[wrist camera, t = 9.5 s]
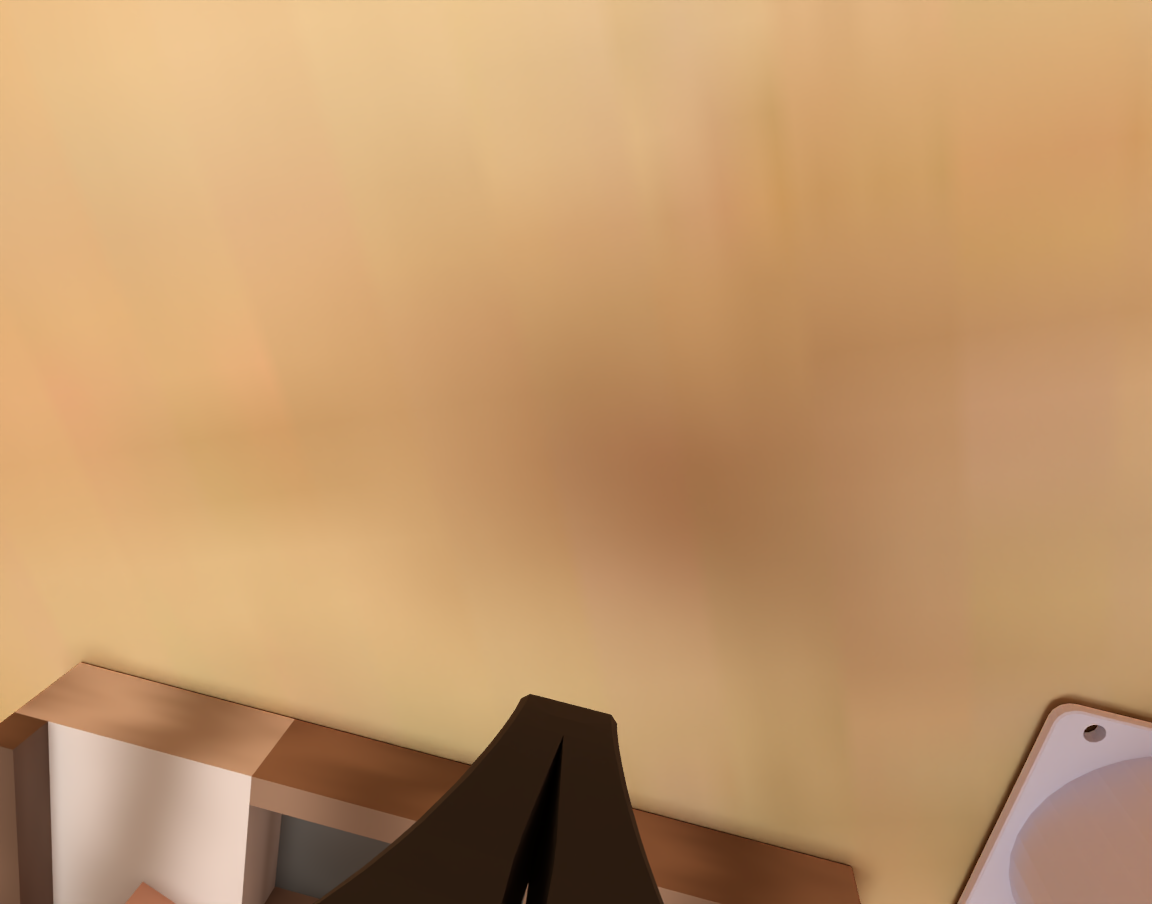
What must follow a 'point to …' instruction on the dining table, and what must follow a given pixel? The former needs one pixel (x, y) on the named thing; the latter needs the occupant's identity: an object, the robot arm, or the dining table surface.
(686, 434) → the dining table surface
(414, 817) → the trap board
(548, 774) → the robot arm
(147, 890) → the terracotta block
